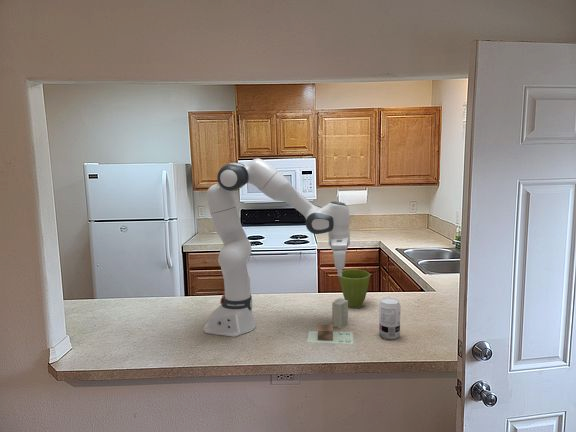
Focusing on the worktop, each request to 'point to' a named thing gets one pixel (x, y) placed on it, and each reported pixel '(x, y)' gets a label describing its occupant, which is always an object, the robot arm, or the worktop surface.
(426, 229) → the worktop surface
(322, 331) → the walnut brick
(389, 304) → the supplement can
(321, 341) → the base board
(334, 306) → the skincare box
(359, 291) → the flower pot
